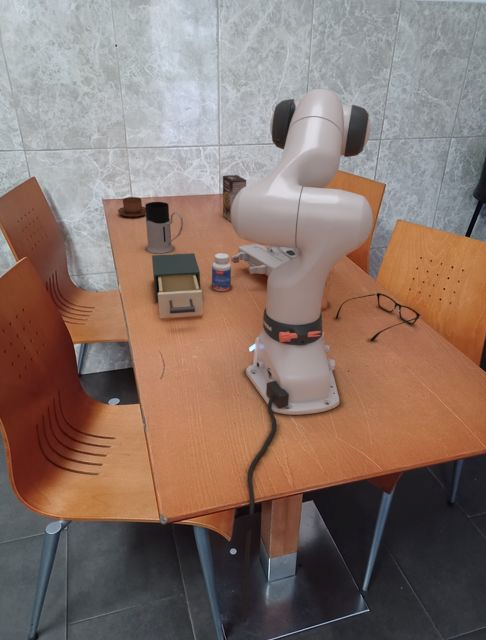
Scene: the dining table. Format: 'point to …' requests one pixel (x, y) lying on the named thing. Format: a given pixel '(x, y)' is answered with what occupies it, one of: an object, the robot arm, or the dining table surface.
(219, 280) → the pill bottle
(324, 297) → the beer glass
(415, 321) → the eyeglasses
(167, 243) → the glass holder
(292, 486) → the dining table surface
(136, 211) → the brown round flanged piece
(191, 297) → the drawer
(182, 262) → the cabinet
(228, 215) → the coffee box
